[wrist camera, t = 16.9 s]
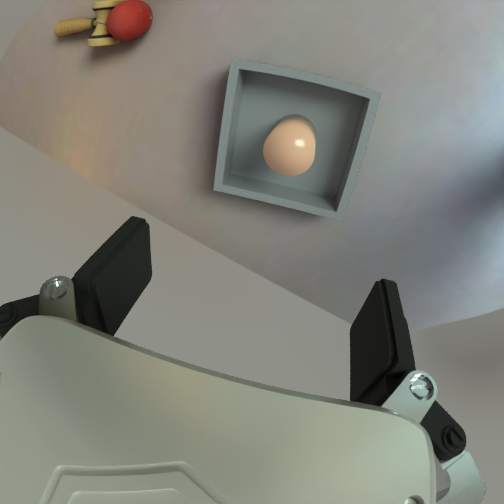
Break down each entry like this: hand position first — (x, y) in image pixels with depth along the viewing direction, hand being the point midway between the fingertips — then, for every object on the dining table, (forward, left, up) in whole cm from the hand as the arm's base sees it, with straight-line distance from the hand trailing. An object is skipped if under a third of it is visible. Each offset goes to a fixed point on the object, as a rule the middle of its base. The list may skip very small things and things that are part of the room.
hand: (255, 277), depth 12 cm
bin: (0, 0, -28) cm, 28 cm away
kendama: (+29, -13, -29) cm, 43 cm away
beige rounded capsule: (0, 0, -27) cm, 27 cm away
